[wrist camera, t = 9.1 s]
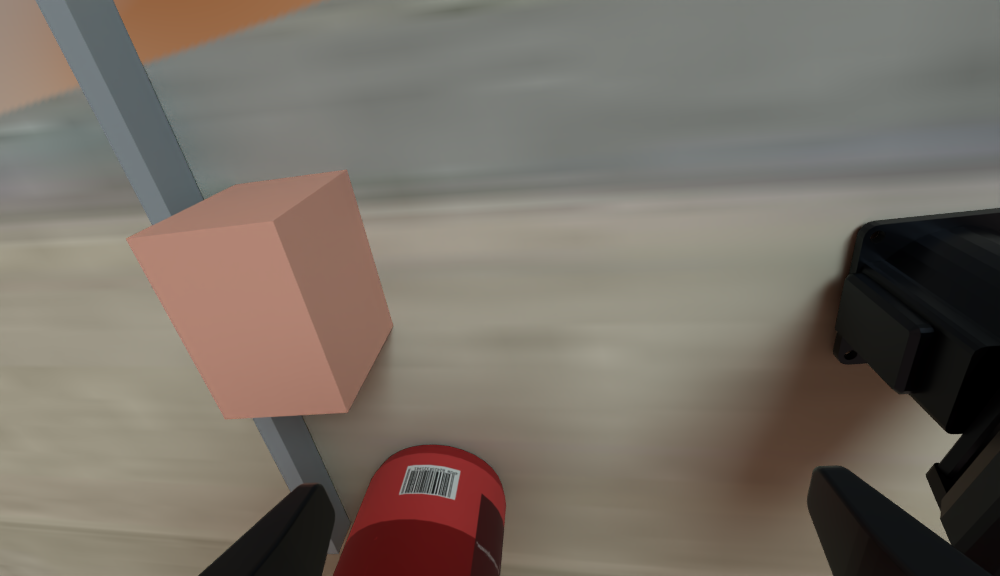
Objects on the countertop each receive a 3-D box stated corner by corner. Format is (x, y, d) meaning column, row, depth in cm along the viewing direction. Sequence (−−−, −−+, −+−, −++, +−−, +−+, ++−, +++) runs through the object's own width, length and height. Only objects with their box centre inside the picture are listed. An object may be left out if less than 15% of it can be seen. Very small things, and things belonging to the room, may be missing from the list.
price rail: (61, -115, 16) (-2, -133, 14) (350, 523, 30) (338, 553, 28) (32, -107, 16) (-34, -125, 14) (334, 523, 30) (321, 554, 29)
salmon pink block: (347, 169, 19) (272, 220, 14) (393, 324, 23) (347, 412, 18) (233, 184, 20) (121, 239, 15) (294, 332, 24) (221, 419, 18)
